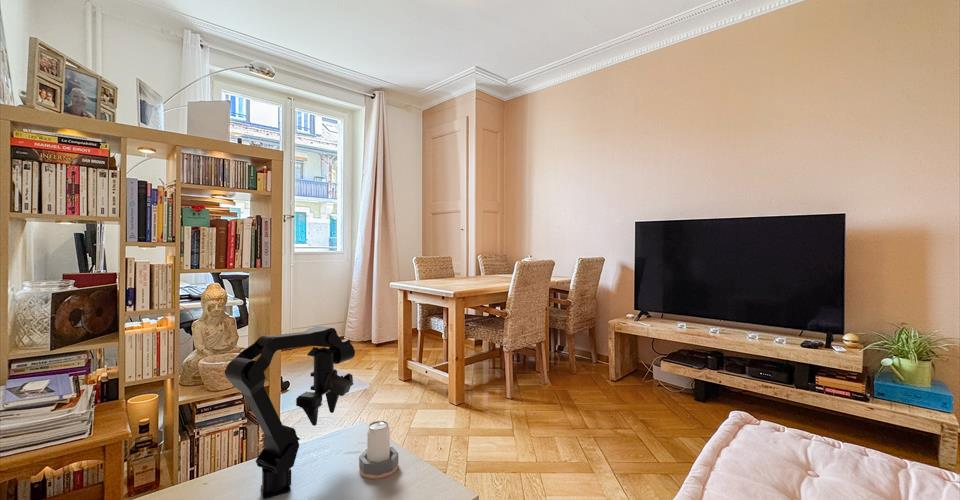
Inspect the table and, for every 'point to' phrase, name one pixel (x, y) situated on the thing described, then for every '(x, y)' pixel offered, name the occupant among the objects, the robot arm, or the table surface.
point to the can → (378, 442)
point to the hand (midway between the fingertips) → (323, 418)
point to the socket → (378, 466)
